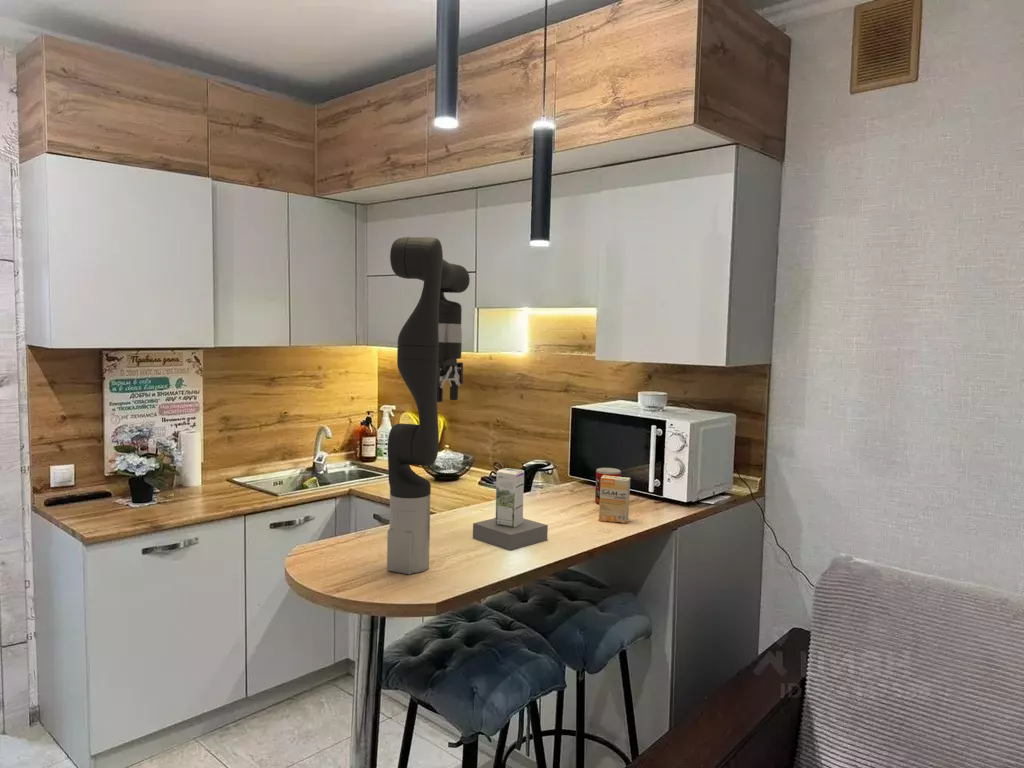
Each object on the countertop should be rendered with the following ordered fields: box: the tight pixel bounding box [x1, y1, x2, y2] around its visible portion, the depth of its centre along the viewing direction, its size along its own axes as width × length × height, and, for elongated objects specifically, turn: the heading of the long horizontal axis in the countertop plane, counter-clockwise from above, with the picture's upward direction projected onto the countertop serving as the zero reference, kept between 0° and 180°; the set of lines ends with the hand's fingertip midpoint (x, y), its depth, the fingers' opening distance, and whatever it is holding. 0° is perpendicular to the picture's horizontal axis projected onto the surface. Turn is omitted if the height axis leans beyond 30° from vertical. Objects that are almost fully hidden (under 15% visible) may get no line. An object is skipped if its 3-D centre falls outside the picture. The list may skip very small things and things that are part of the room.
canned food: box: [594, 467, 622, 505], centre depth 232 cm, size 8×8×11 cm
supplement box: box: [598, 475, 631, 524], centre depth 210 cm, size 8×5×13 cm, turn 71°
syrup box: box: [495, 467, 525, 527], centre depth 189 cm, size 6×6×14 cm
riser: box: [472, 517, 549, 551], centre depth 189 cm, size 14×14×4 cm
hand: (446, 401), depth 193 cm, fingers open, 8 cm apart
